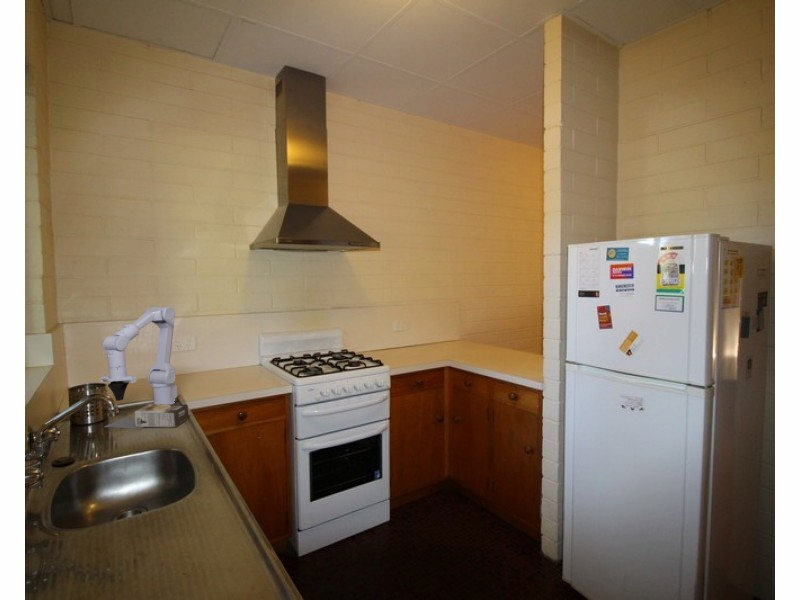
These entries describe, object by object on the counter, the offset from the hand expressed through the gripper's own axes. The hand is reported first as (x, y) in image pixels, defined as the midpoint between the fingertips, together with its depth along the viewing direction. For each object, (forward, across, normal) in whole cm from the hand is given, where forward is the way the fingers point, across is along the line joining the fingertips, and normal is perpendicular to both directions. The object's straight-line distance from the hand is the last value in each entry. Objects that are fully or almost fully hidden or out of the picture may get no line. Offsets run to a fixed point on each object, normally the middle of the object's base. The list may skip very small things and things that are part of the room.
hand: (119, 400), depth 163 cm
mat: (+9, +5, 0) cm, 10 cm away
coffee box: (+6, +9, 0) cm, 11 cm away
